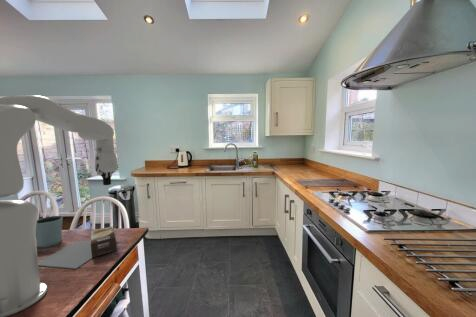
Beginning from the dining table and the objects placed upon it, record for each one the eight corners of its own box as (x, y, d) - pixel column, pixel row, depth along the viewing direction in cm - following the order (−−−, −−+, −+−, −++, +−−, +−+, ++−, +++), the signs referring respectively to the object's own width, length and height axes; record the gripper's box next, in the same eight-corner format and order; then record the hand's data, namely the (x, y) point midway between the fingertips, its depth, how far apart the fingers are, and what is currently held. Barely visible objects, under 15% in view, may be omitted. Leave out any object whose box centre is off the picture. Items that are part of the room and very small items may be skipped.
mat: (76, 269, 73) (76, 268, 73) (32, 265, 76) (32, 264, 76) (114, 243, 92) (114, 243, 92) (78, 241, 95) (78, 240, 95)
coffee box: (113, 225, 97) (116, 237, 85) (113, 237, 98) (117, 250, 85) (90, 230, 92) (90, 244, 79) (91, 243, 92) (91, 258, 80)
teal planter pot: (32, 245, 92) (30, 221, 91) (59, 236, 101) (57, 214, 100) (40, 250, 87) (38, 225, 86) (68, 240, 96) (66, 217, 95)
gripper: (99, 150, 92) (101, 188, 93) (122, 150, 106) (123, 182, 108) (85, 150, 93) (88, 187, 94) (110, 150, 107) (112, 182, 109)
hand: (107, 184), depth 101 cm, fingers closed
